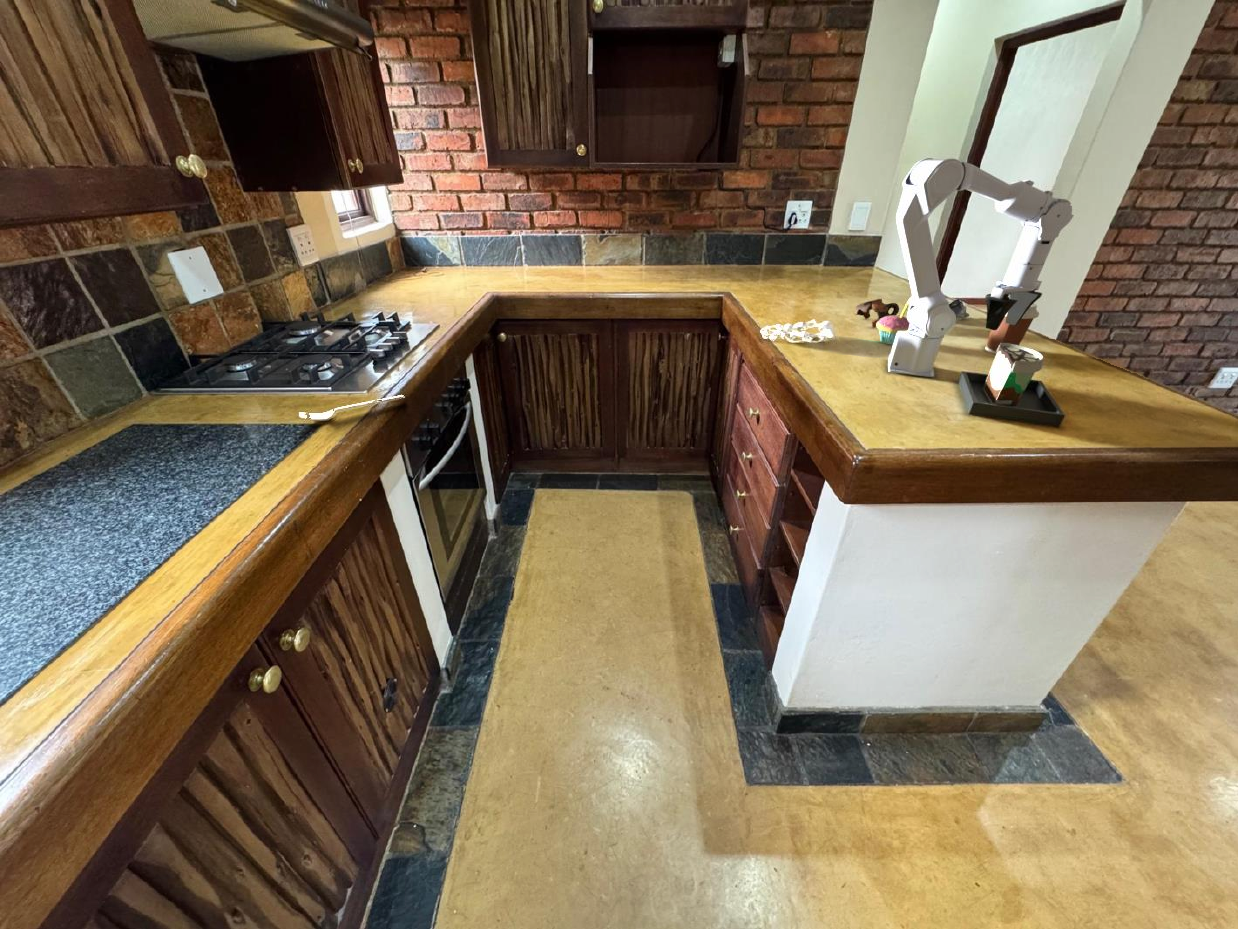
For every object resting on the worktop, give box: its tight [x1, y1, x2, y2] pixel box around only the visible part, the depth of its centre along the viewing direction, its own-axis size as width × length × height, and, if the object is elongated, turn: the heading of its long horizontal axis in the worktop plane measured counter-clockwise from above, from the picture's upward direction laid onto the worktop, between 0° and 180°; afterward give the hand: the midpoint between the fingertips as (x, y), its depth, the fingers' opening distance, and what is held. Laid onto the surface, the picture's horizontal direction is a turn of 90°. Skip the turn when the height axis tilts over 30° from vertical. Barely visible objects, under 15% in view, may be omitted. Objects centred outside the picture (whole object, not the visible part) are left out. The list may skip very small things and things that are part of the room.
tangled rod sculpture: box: [760, 318, 836, 344], centre depth 135 cm, size 19×14×4 cm
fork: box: [298, 394, 406, 422], centre depth 102 cm, size 3×20×2 cm, turn 122°
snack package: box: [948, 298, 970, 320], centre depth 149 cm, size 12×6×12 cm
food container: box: [983, 343, 1044, 407], centre depth 97 cm, size 12×6×10 cm, turn 158°
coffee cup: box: [984, 302, 1040, 354], centre depth 123 cm, size 9×9×12 cm
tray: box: [957, 371, 1066, 429], centre depth 100 cm, size 15×18×3 cm
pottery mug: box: [854, 298, 900, 329], centre depth 146 cm, size 12×9×8 cm
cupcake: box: [876, 300, 910, 346], centre depth 130 cm, size 9×8×12 cm
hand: (1001, 326), depth 110 cm, fingers open, 7 cm apart
